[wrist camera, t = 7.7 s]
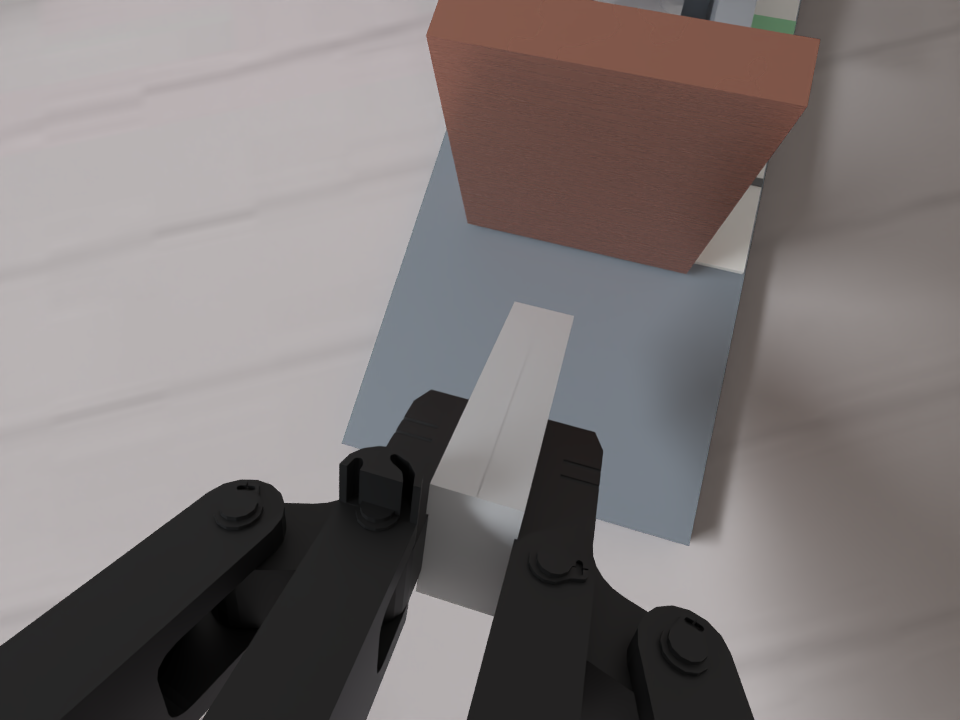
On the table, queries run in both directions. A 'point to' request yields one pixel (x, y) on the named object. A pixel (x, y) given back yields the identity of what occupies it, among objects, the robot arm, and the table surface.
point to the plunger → (612, 119)
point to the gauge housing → (577, 331)
